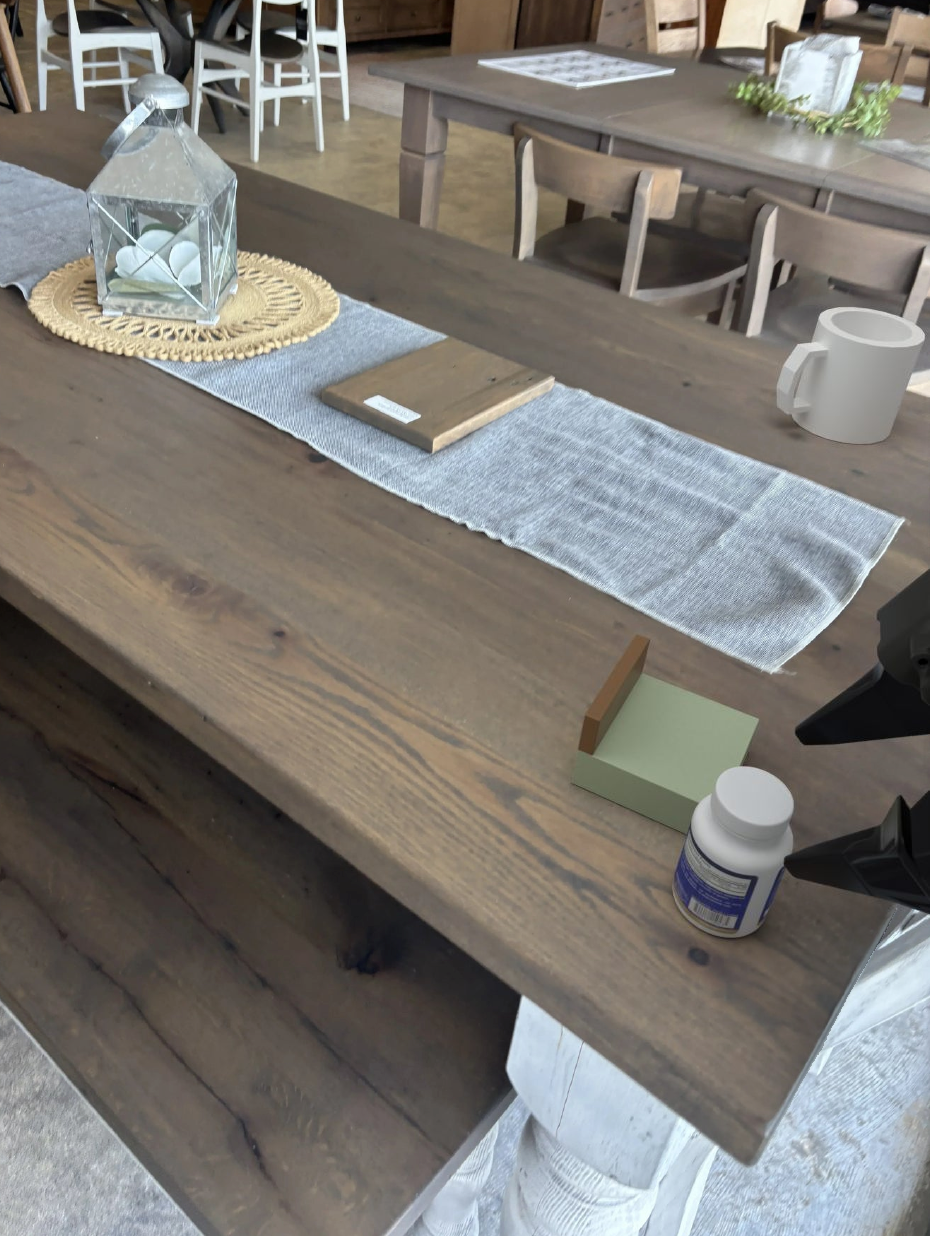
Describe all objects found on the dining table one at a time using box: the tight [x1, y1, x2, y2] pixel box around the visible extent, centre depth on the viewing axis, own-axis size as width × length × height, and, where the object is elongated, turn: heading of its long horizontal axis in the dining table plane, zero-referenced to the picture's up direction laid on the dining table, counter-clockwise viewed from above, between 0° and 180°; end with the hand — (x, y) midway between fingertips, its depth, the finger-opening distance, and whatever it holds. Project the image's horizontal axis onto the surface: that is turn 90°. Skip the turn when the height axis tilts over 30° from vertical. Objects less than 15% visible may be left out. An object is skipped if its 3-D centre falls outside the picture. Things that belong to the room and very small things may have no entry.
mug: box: [776, 306, 926, 445], centre depth 103 cm, size 14×10×11 cm
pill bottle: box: [671, 766, 795, 939], centre depth 54 cm, size 5×5×9 cm
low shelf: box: [570, 633, 760, 835], centre depth 63 cm, size 9×9×6 cm
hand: (793, 797), depth 51 cm, fingers open, 9 cm apart
